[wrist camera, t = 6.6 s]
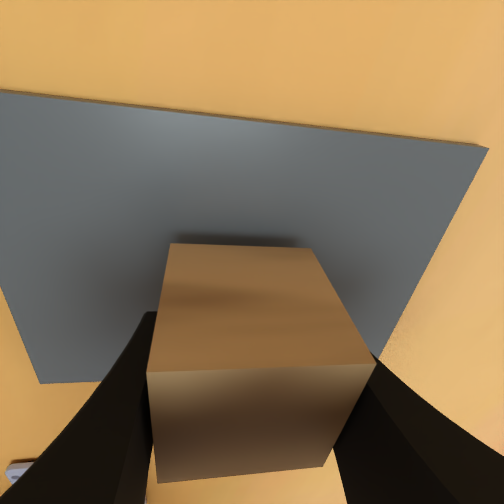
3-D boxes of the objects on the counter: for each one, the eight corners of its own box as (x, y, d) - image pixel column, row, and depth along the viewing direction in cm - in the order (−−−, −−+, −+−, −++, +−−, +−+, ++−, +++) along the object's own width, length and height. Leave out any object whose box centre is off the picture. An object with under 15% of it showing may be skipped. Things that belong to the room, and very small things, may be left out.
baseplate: (367, 361, 18) (372, 369, 18) (45, 373, 15) (39, 383, 15) (476, 144, 12) (489, 148, 11) (-65, 81, 8) (-83, 83, 8)
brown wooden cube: (286, 341, 14) (322, 466, 9) (173, 344, 13) (157, 483, 8) (310, 248, 11) (376, 363, 7) (170, 243, 10) (146, 372, 6)
